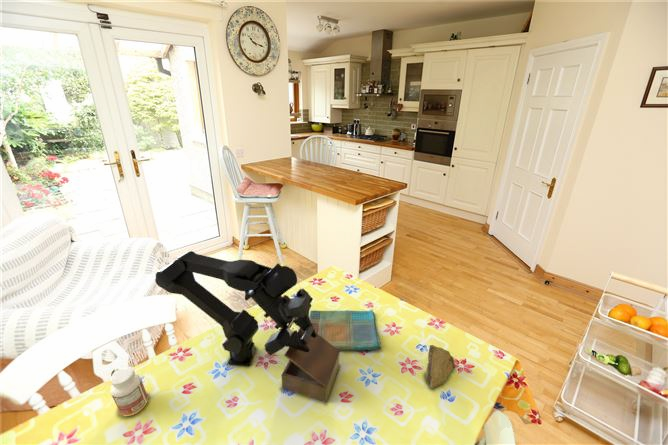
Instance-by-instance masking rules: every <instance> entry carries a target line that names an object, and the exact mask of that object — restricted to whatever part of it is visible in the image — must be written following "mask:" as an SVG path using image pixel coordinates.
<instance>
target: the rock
mask: <svg viewBox="0 0 668 445" xmlns="http://www.w3.org/2000/svg"><path fill="white" fill-rule="evenodd" d="M455 369H456V363H455V358H454V356H452V355H451V353H450V351H448V350H446V349H444V348H442V347H440V346H436V345H434V344H429V348H428V353H427V365H426V369H425V377H426V381H427V384H428V386H429V387H430V389H432V390H433V389H435V387H437V386H439V385H442V384H443V383H445V381H446V380H447V379H448V377H449V376H450V374H451V372H453V371H455Z"/></svg>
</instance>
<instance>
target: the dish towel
mask: <svg viewBox="0 0 668 445" xmlns="http://www.w3.org/2000/svg"><path fill="white" fill-rule="evenodd" d="M309 318H310V321H311V323H312V326H313V328H314V330H315V332H316V333H317V334H318V335H320V336H321V337H322V338H324V339H325V340H326V341H327V342H329V343H330V344H331V345H333V346H334V347H335V348H336V349H338V350H339V351H372V350H379V349H381V348H382V345H381V341H380V336H379V331H378V326H377V321H376V315H375V312H374V310H373V309H369V310H314V309H313V310H309Z"/></svg>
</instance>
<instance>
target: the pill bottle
mask: <svg viewBox="0 0 668 445" xmlns="http://www.w3.org/2000/svg"><path fill="white" fill-rule="evenodd" d="M109 381H110V384H111V385H110V394H111V397H112V399H113V401H114V403H115V405H116V407H117V410H118V412H119V414H120V415H122V416H123V417H130V416H133V415H136V414H137V413H139V412H141V410H143V408H145V406H146V405H147V402H148V401H149V400H148V398H149V397H148V393H147V391H146V388H145V386H144V383H143V380H142V377H141V375H140V374H139V373H138V372H136V371H135V370H134V368H133V367H132V366H123V367H121V368H119V369H117V370H116V371H115V372H113V373H112V375H111V376H110V380H109Z"/></svg>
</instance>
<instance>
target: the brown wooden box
mask: <svg viewBox="0 0 668 445" xmlns="http://www.w3.org/2000/svg"><path fill="white" fill-rule="evenodd" d="M339 368H340V354H339V355H338V358H337V361H336V364H335V366H334V369H333V372H332V375H331V377H330V380H329V383H328V386H327V387H326V388H325V387H324V386H323V385H321V384H320V383H319V382H317V381H316V380H315V379H313V378H312V377H311V376H310V375H308V374H307V373H306V372H304V371H303V370H302V369H301V368H299V367H298V366H297V365H295V364H294V363H293V362H291V361H290V360H289V359H288V362H287V364H286V366H285V368H284V369H283V371H282V373H281V374H280V376H281V386H282V389H283V390H286V391H289V392H292V393H295V394H299V395H302V396H305V397H307V398H312V399H314V400H317V401H321V402H324V403H327V401H328V400H329V396H330V393H331V390H332V387H333V384H334V382H335V380H336V379H335V378H336V376H337V373H338V370H339Z"/></svg>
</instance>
